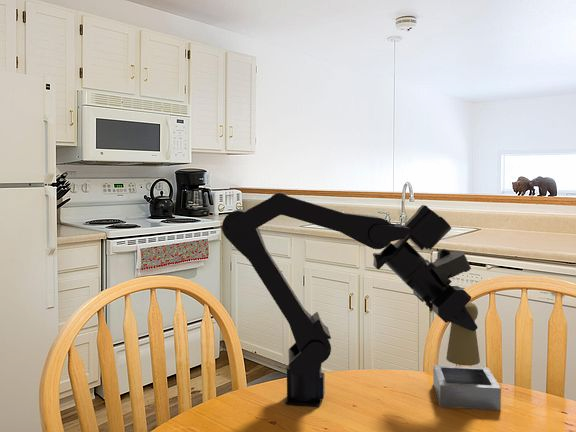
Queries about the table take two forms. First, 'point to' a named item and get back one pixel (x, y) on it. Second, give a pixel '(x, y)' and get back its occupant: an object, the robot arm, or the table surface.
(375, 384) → the table surface
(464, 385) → the open gray box
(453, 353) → the olive pawn
